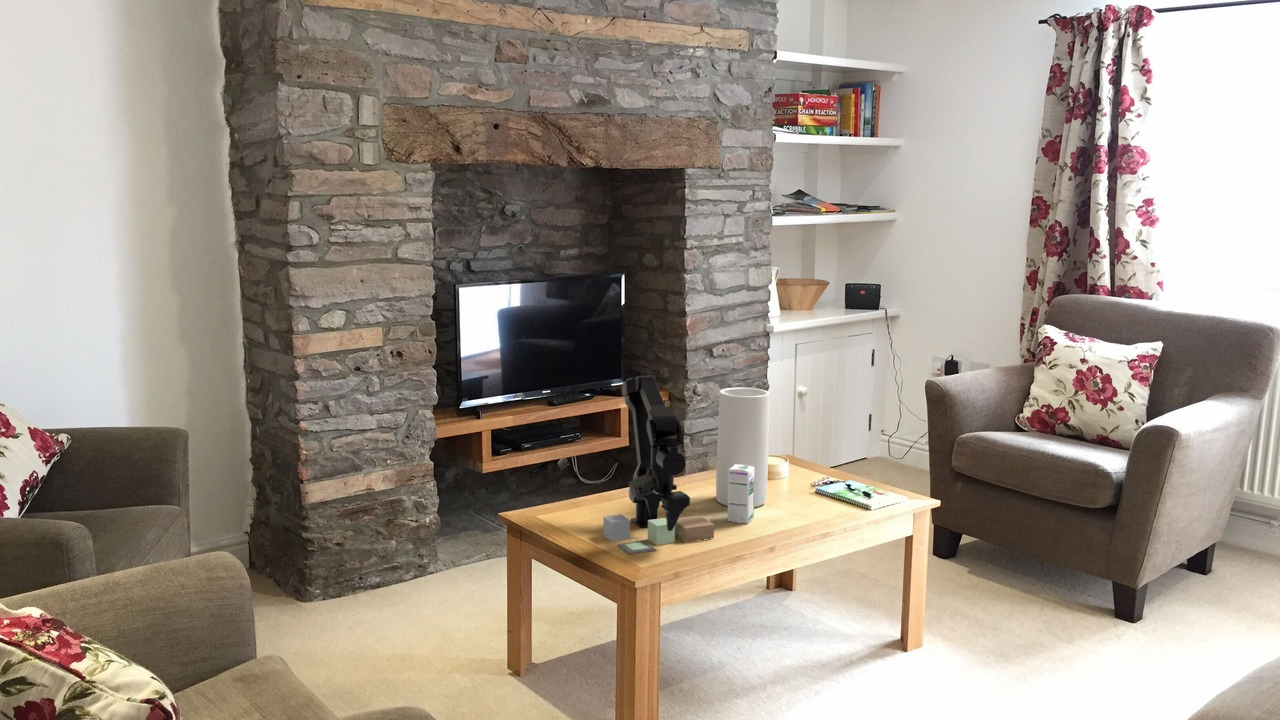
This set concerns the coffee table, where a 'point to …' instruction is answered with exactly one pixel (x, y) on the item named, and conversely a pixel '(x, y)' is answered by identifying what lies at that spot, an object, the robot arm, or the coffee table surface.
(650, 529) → the green cube
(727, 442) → the vase
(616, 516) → the slate cube
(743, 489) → the syrup box
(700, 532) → the walnut block
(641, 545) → the card
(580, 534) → the coffee table surface
